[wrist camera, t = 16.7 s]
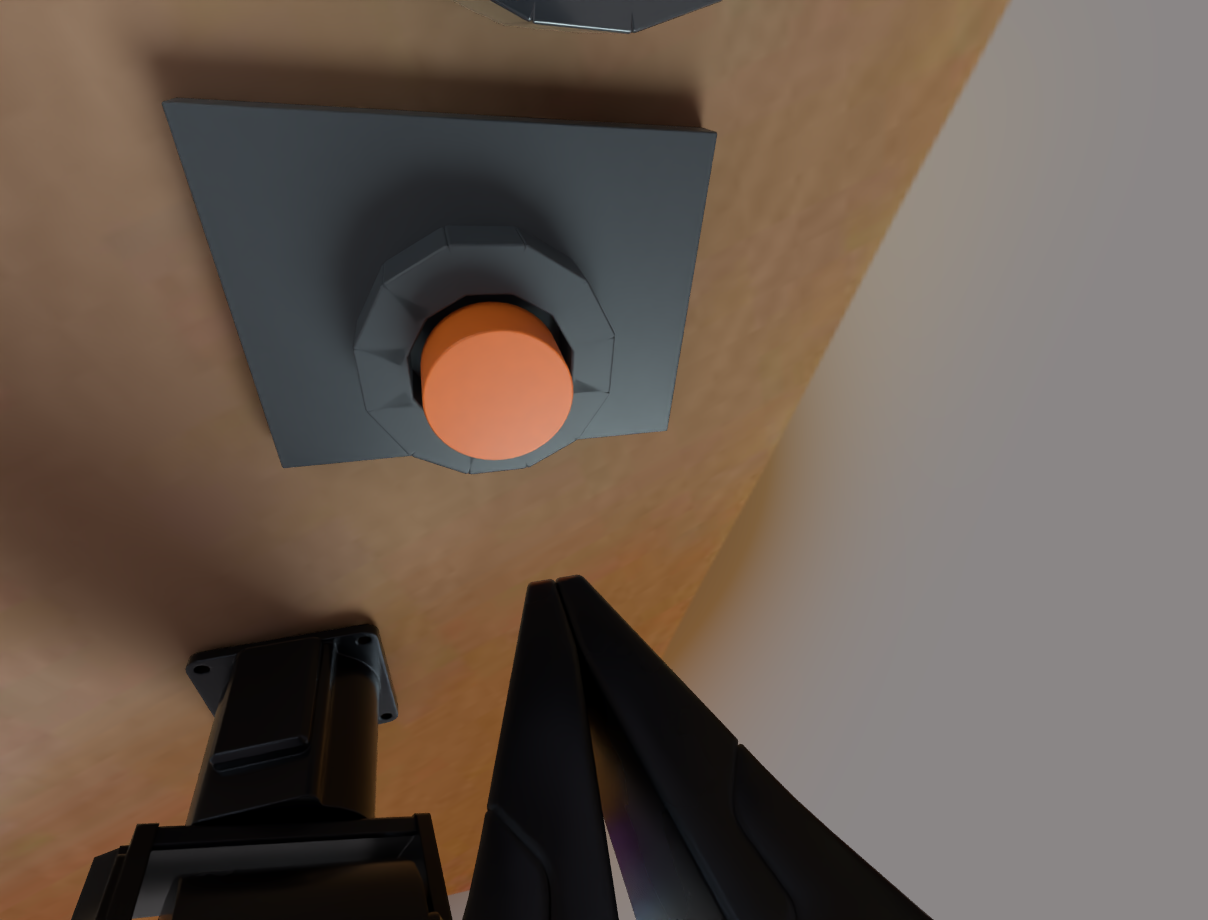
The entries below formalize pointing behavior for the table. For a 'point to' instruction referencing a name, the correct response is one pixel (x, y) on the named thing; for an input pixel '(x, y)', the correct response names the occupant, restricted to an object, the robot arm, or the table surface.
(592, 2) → the dark grey cup holder
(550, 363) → the button
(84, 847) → the table surface
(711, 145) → the button base
